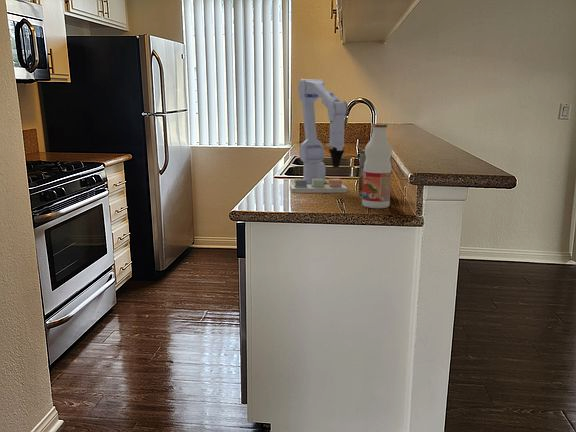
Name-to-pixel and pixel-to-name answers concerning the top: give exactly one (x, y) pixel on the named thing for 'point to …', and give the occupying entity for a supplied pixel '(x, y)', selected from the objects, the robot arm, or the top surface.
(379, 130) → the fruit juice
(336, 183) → the key terracotta
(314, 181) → the key sage
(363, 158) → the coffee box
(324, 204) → the top surface
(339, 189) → the keypad
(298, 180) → the key slate
